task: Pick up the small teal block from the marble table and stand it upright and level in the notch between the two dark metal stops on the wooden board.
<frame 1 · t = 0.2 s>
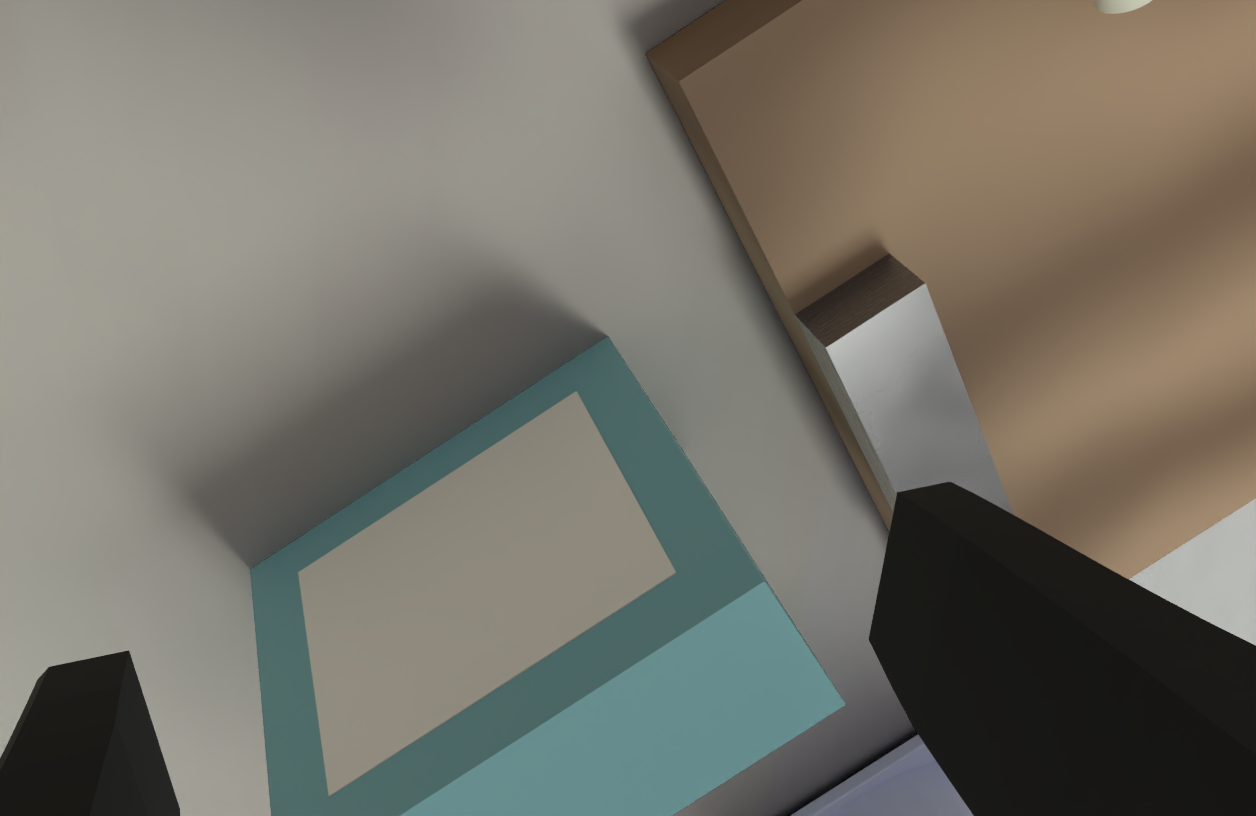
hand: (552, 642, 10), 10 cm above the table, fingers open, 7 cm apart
teal block: (476, 507, 22), on the table
wooden board: (1110, 232, 23), on the table
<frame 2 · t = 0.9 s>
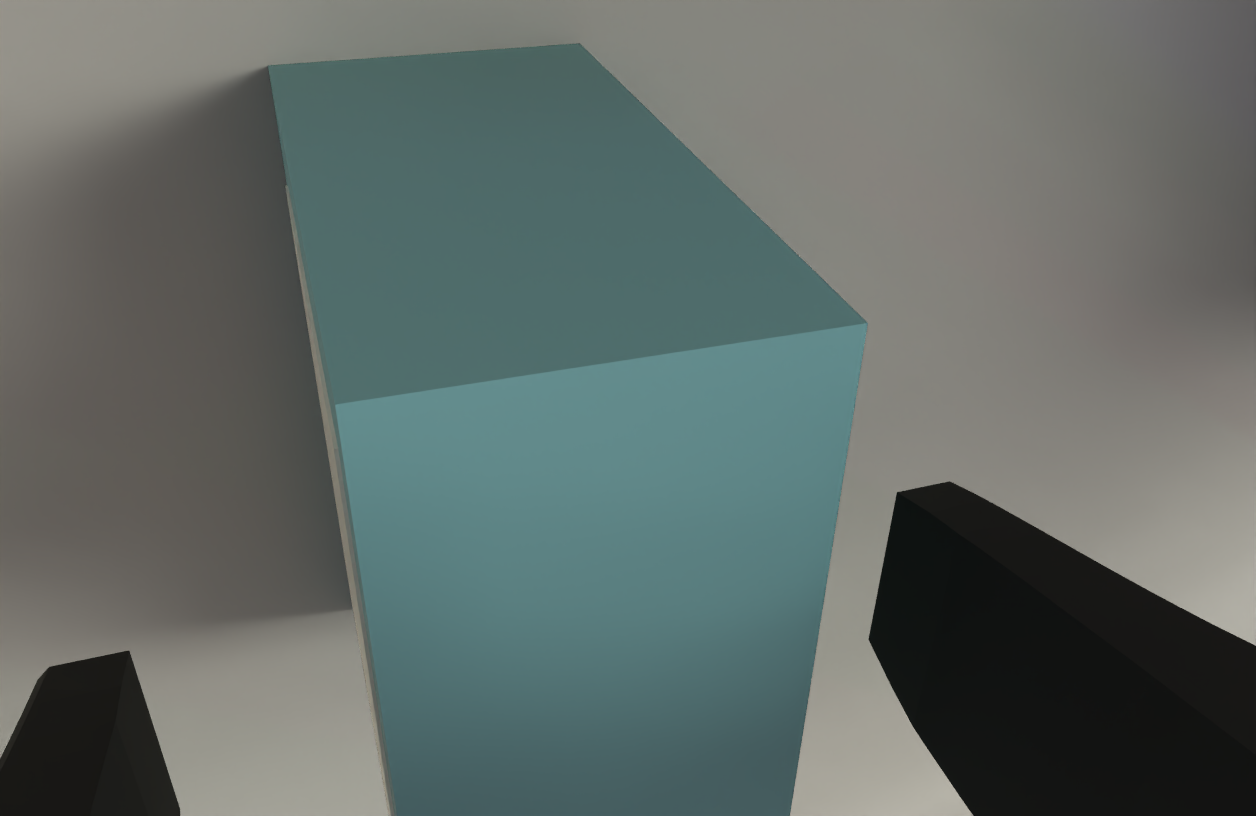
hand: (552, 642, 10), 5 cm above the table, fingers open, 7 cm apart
teal block: (452, 357, 15), on the table
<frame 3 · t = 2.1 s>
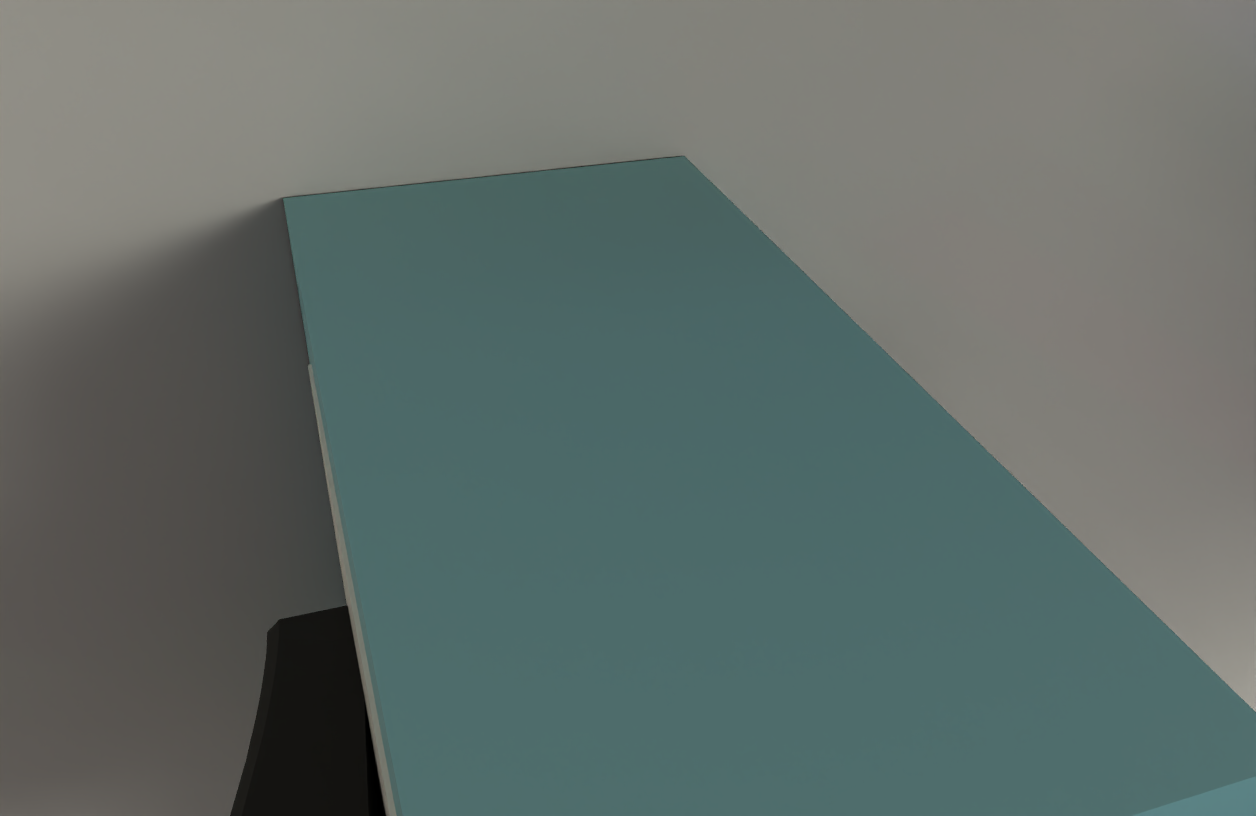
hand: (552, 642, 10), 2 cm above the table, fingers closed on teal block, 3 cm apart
teal block: (511, 535, 12), on the table, touching gripper
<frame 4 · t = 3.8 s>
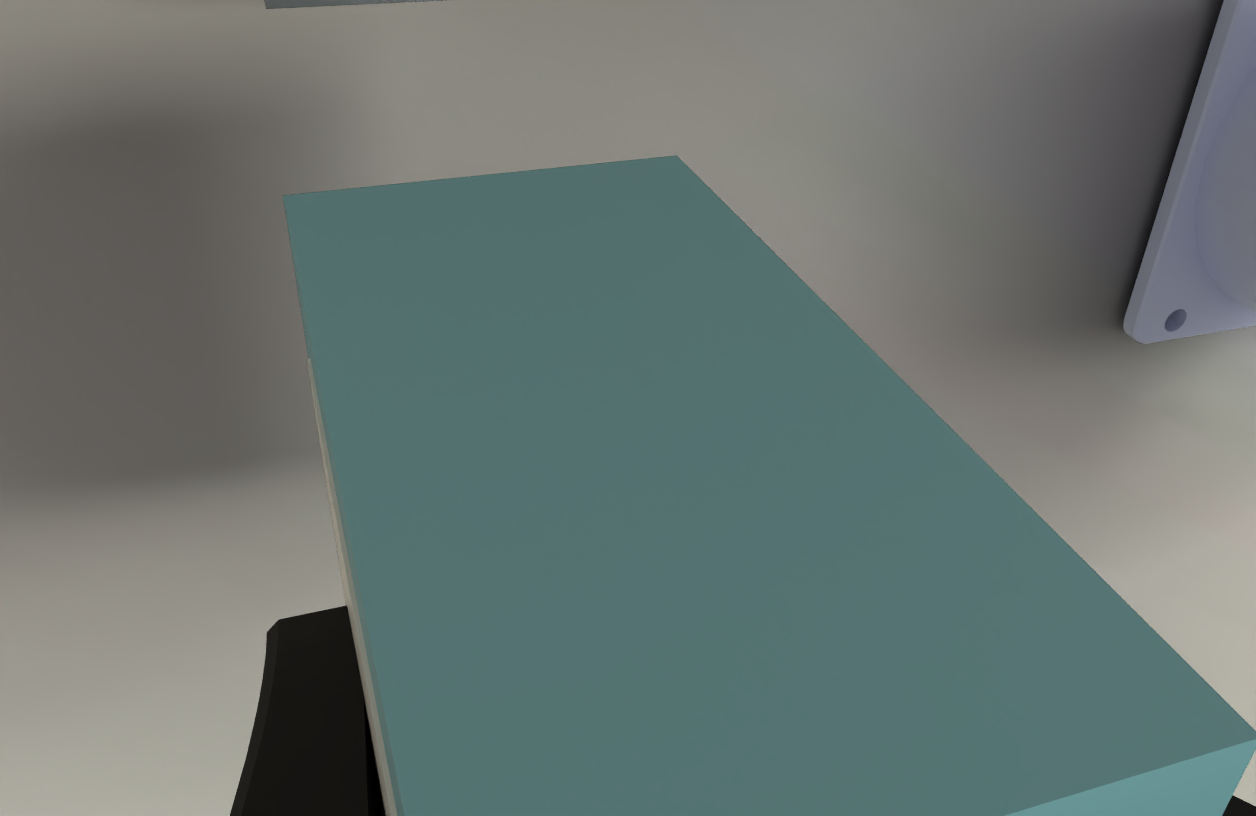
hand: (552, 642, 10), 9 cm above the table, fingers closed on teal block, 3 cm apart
teal block: (506, 527, 12), point 7 cm above the table, touching gripper
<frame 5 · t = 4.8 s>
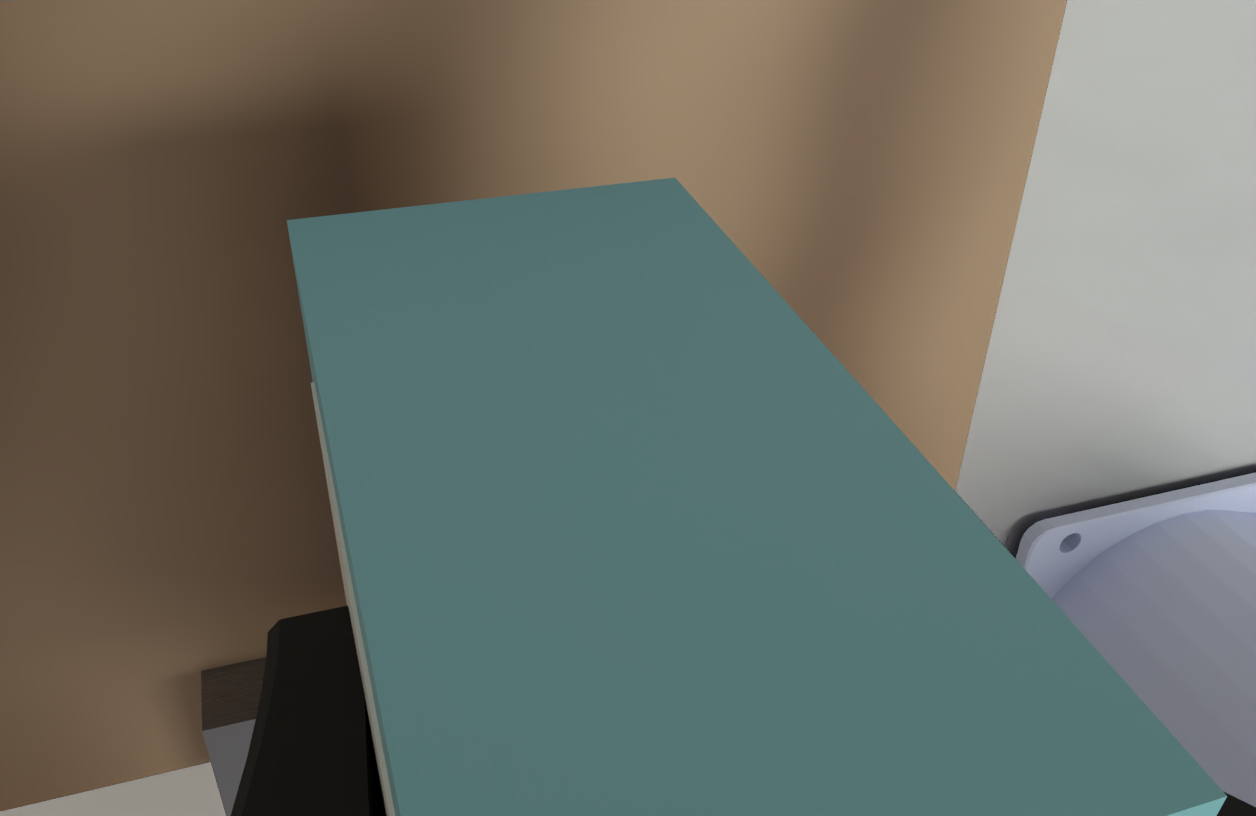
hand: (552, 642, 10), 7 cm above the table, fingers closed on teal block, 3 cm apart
teal block: (505, 536, 12), point 5 cm above the table, touching gripper
wooden board: (421, 295, 16), on the table
when the fingers open (4 cm above the table, at t = 5.6 s): teal block stays where it is, resting on wooden board.
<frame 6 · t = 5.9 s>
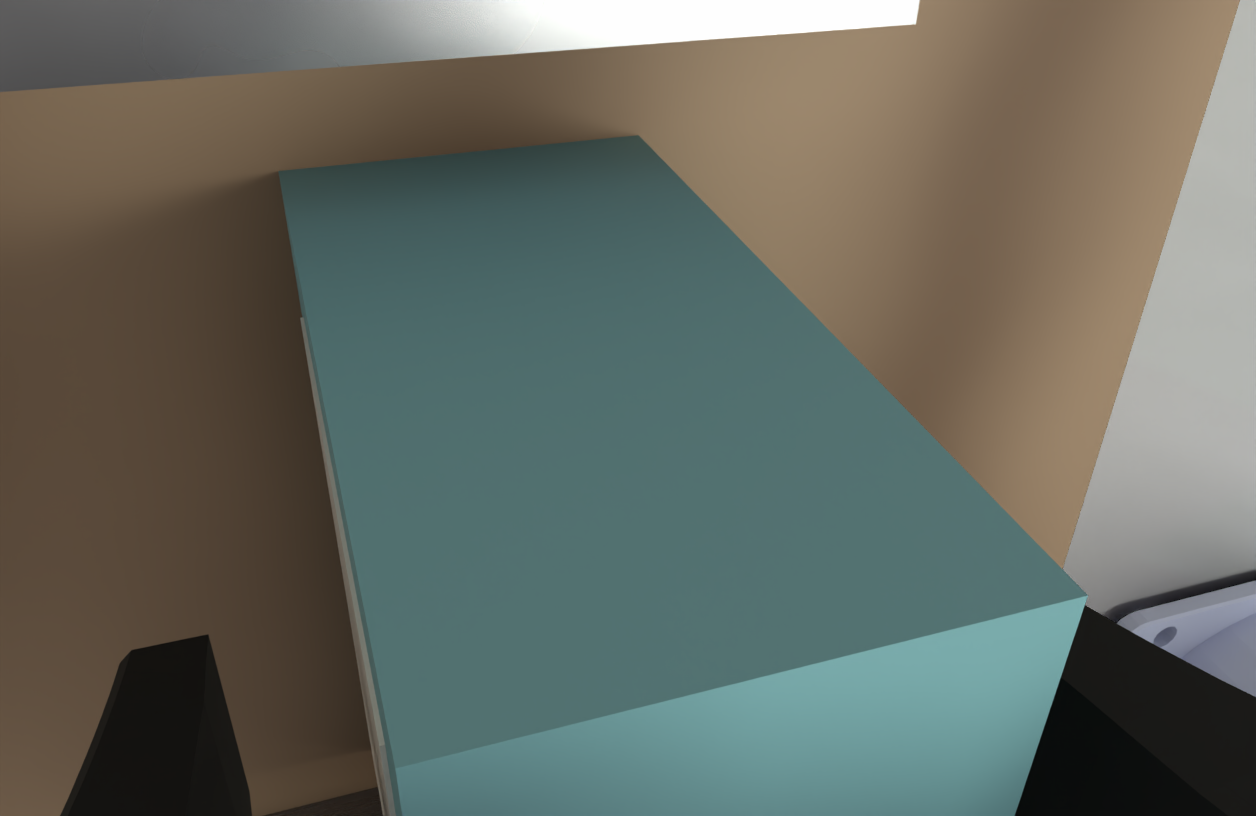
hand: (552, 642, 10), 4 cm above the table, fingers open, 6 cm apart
teal block: (488, 483, 13), point 1 cm above the table, touching wooden board
wooden board: (459, 398, 14), on the table
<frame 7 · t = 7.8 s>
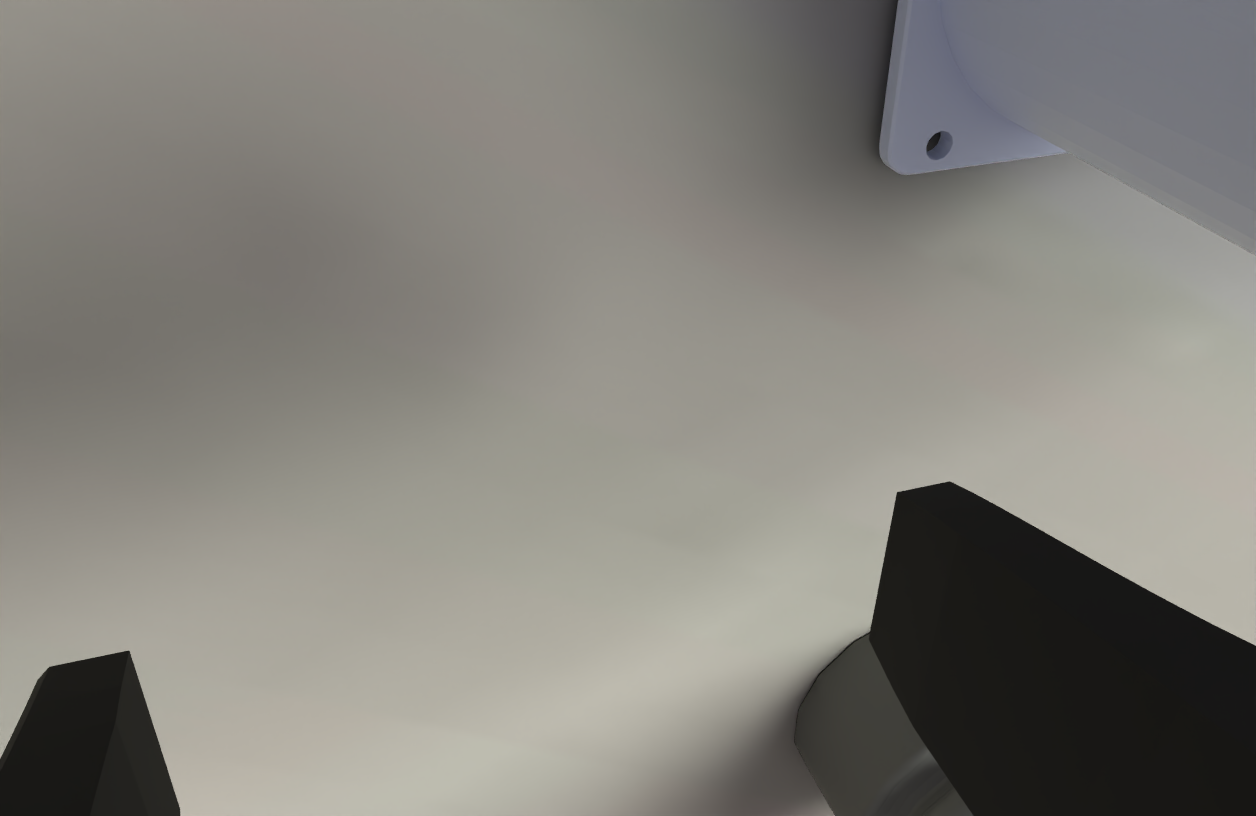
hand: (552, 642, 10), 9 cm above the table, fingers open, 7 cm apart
candle holder: (897, 691, 29), on the table
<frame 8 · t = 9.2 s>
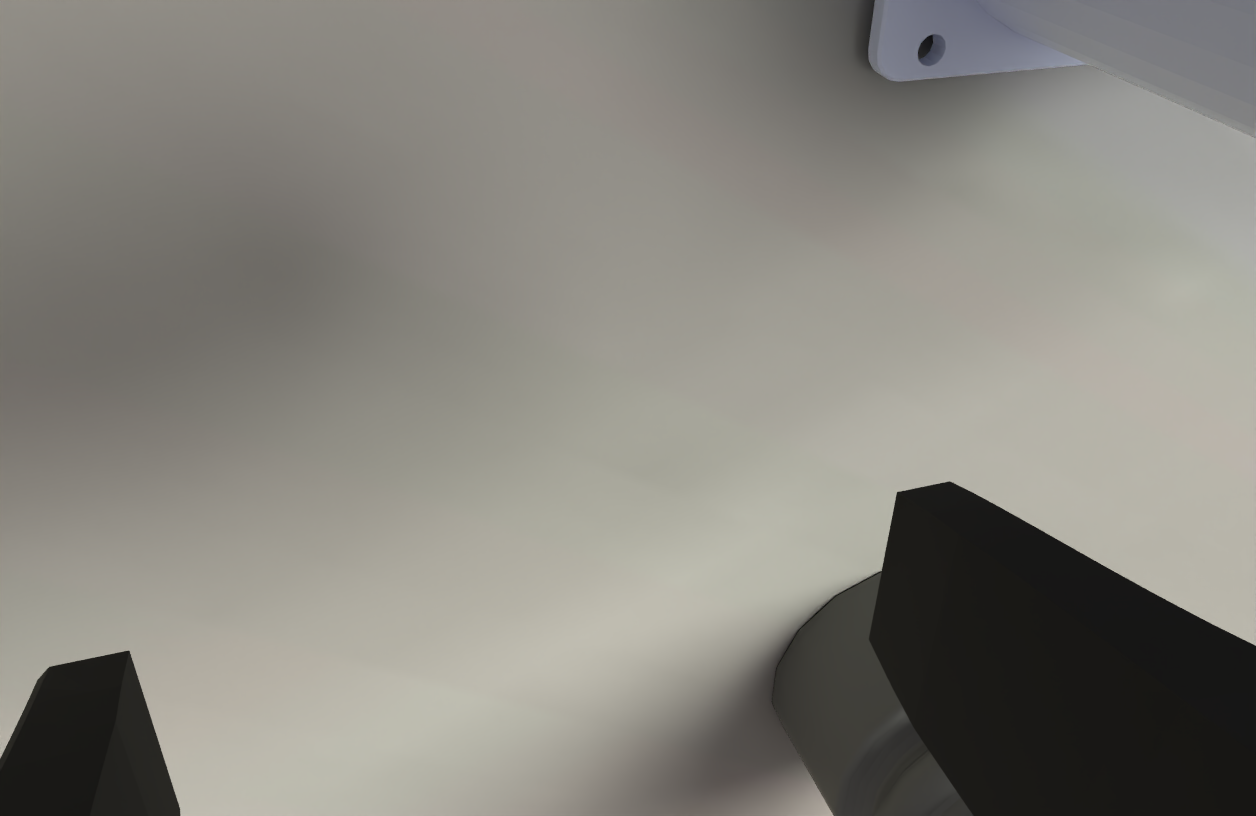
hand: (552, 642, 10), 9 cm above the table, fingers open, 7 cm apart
candle holder: (879, 652, 28), on the table
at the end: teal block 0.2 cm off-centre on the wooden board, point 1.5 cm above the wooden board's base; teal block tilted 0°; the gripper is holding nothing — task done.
